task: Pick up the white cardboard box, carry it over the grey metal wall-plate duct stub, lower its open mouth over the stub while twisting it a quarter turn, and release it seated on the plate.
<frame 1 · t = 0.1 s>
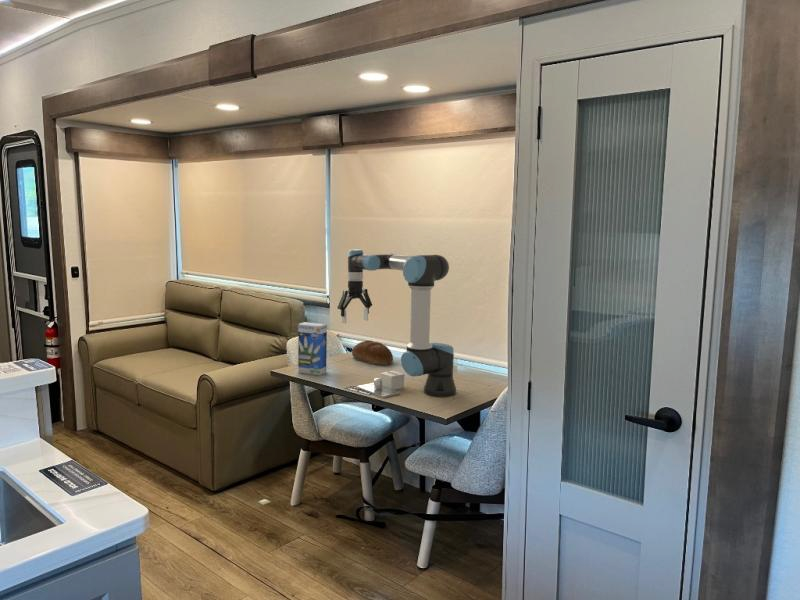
hand: (355, 321, 306), 28 cm above the table, fingers open, 13 cm apart
bread: (371, 361, 341), on the table
white cardboard box: (392, 387, 289), on the table
string lights box: (312, 372, 313), on the table
duct stub: (378, 391, 282), on the table
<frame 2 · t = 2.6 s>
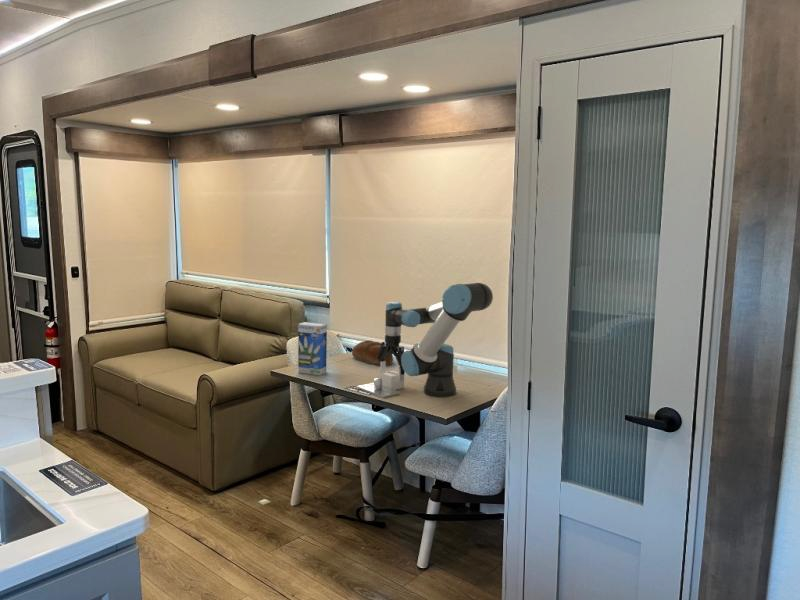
hand: (391, 377, 288), 5 cm above the table, fingers open, 13 cm apart
nothing on the table moved.
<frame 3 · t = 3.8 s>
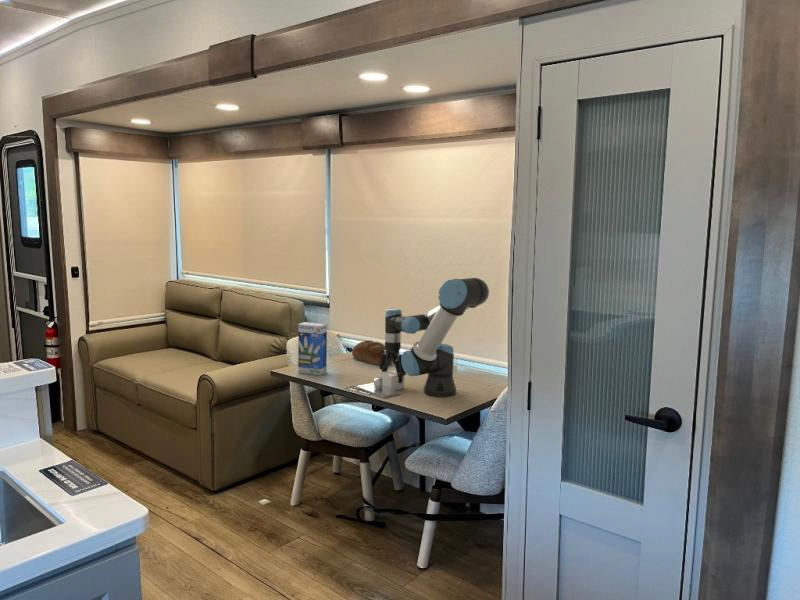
hand: (392, 386, 289), 0 cm above the table, fingers open, 9 cm apart
nothing on the table moved.
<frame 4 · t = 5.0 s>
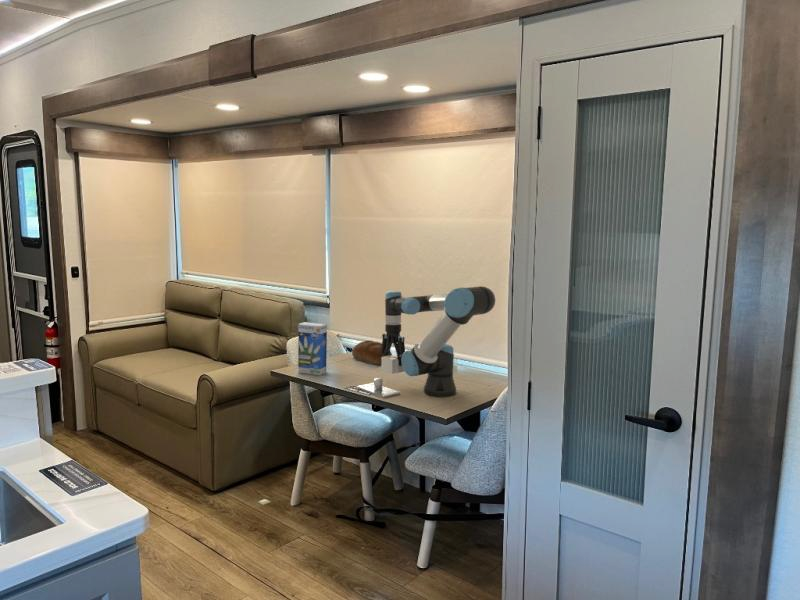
hand: (393, 370, 287), 8 cm above the table, fingers closed on white cardboard box, 8 cm apart
white cardboard box: (393, 371, 287), point 8 cm above the table, touching gripper
everything else where it was.
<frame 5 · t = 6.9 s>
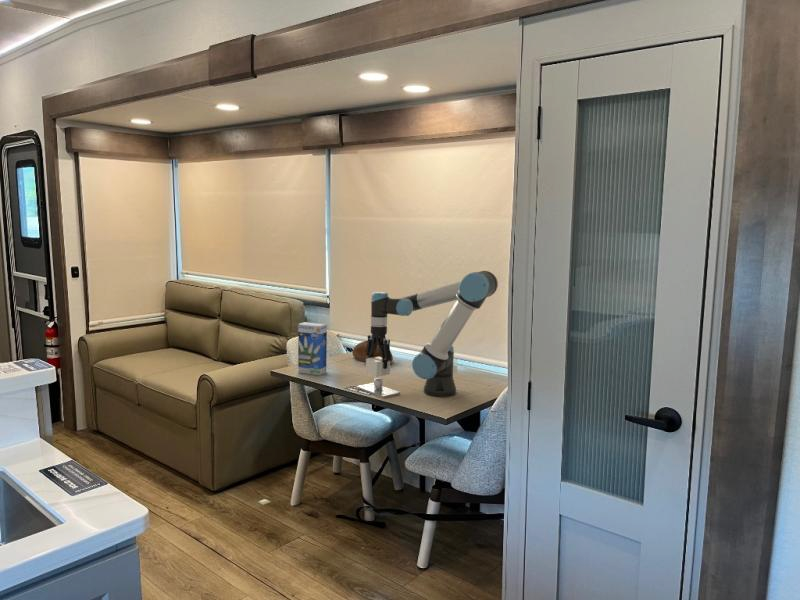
hand: (377, 373, 281), 9 cm above the table, fingers closed on white cardboard box, 8 cm apart
white cardboard box: (377, 373, 281), point 8 cm above the table, touching gripper
everything else where it was.
when the fingers open (2 cm above the table, at t = 9.0 s): white cardboard box stays where it is, resting on duct stub.
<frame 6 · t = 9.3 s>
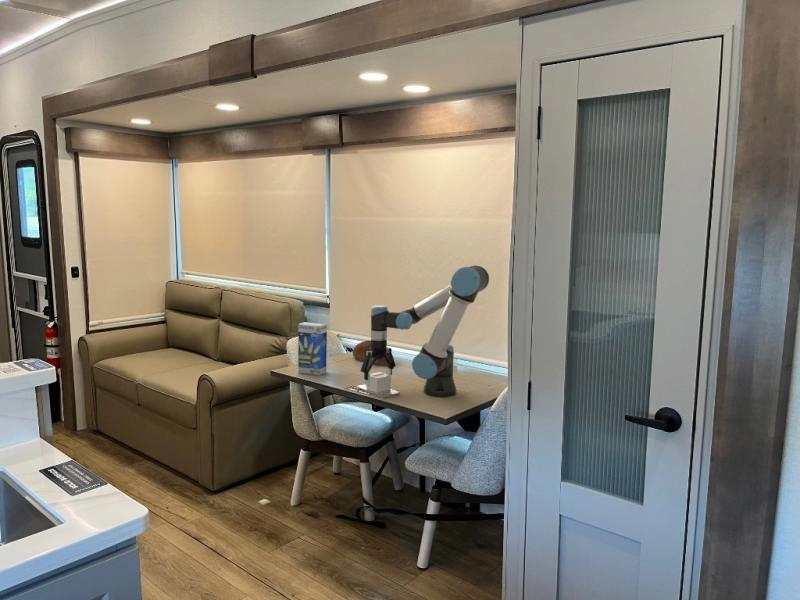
hand: (378, 384, 281), 3 cm above the table, fingers open, 12 cm apart
white cardboard box: (378, 389, 282), point 1 cm above the table, touching duct stub
everything else where it was.
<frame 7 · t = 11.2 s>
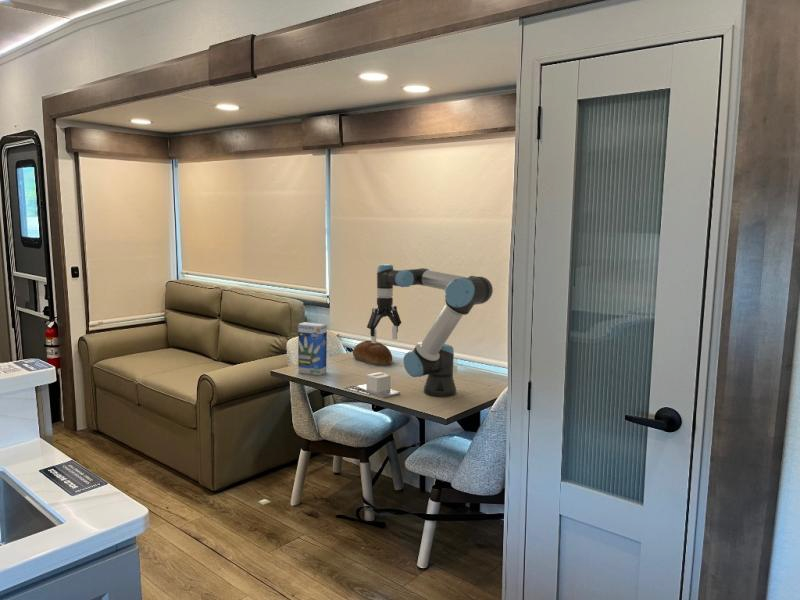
hand: (384, 341, 287), 22 cm above the table, fingers open, 13 cm apart
nothing on the table moved.
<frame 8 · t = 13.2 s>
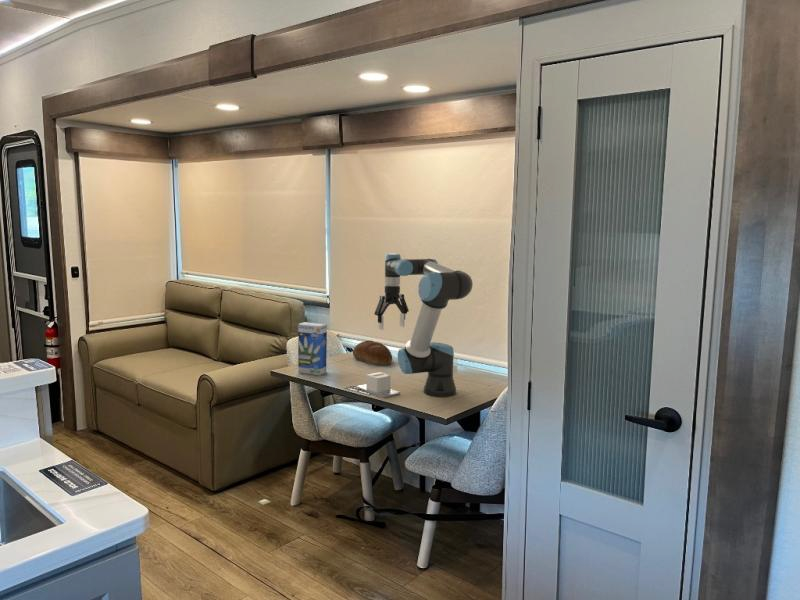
hand: (391, 327, 297), 27 cm above the table, fingers open, 13 cm apart
nothing on the table moved.
at the end: white cardboard box 0.1 cm off-centre on the duct stub, point 1.0 cm above the duct stub's base; white cardboard box tilted 0°; the gripper is holding nothing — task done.
